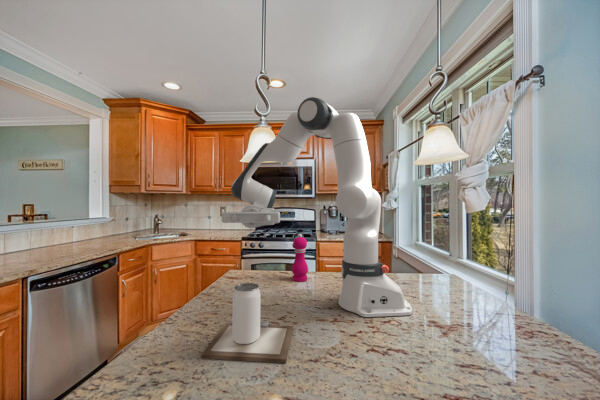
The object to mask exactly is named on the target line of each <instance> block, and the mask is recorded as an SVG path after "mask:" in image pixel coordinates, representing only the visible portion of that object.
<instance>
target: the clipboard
mask: <svg viewBox="0 0 600 400" xmlns="http://www.w3.org/2000/svg"><path fill="white" fill-rule="evenodd" d="M293 332H294V326H293V325H277V324H274V325H273V324H270V321H260V337H259V339H258V340H257V341H256V342H254V343H251V344H247V345H240V344H237V343H235V342H234V341H233V339H232V322H231V323H230V322H226V323H225V324H224V325H223V327H222V328H221V329H220V330H219V332H218V333H217V334H216V335H215V336H214V338H213V339H212V340H211V341H210V343H209V344H208V345H207V346H206V348H205V349H204V350H203V351H202V353H201V355H200V358H201V359H209V360H225V361H227V360H228V361H241V362H242V361H246V362H261V363H278V364H286V363H287V358H288V354H289V351H290V346H291V341H292V336H293Z"/></svg>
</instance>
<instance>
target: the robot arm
mask: <svg viewBox="0 0 600 400" xmlns="http://www.w3.org/2000/svg"><path fill="white" fill-rule="evenodd" d="M312 136H315V137H316V138H319V139H325V140H331V143H332V147H333V153H334V159H335V164H336V171H337V194H336V197H335V205H336V208H337V211H338V212H339V213H340V214H341V215H343V216H344V217H345V218H347V222H346V226H345V231H344V234H343V247H342V248H343V250H342V254H343V259H342V261H341V278H342V284H341V291H340V293H339V294H340V295H339V298H338V302H337V303H338V305H339V306H340V307H341V308H342V309H344V310H346V311H348V312H350V313H355V314H357V315H359V316H360V317H364V318H376V317H380V318H381V317H394V316H395V317H399V316H411V315H412V314H413V308H412V305H411V304H410V303H409V301H407V300H406V299H405V297H404V293H403V290H402V289H401V287H400V286H399V285H398V284H397V283H396V282H395V281H394V280H393V279H391V278H390V277H389V276H387V275H386V273H389V271H390V268H389V266H388V265H386V264H384V263H382V262H381V261H379V233H380V232H379V231H380V226H381V225H380V224H381V223H380V222H381V213H382V212H381V209H382V198H381V195H380V194H379V192H378V191H377V190H376V189H375V188H373V187H372V185H373V184H372V175H371V174H372V173H371V171H372V170H371V166H372V163H371V158H370V154H369V148H368V142H367V138H366V134H365V131H364V128H363V125H362V122H361V121H360V118H359V116H358V115H357V114H355V113H354V112H343V113H340V112H338V111H337V110H336V109H335V108H334V107H333V106H332V105H330V104H329V103H327V102H326V101H324V100H323V99H321V98H319V97H314V96H311V97H307V98H306V99H304V100H303V101H302V102H301V103H300V105H299V106H298V109H297V111H296V112H293V113H290V115H289V116H288V117H287V119H286V120H285V121H284V123H283V125H282V126H281V128H280V130H279V131H278V133H277V135H276V137H275V138H274V139H273V140H272V141H271V142H266V143H264V144H262V145H261V147H259V149H258V150H257V151H256V153H255V154H254V155H253V157H252V158H251V159H250V161H249V162H248V164H247V165H246V167H245V168H244V169H243V171H242V172H241V173H240V174H239V175H238V177H237V178H236V179H235V180H234V181H233V182H232V185H231V188H230V191H231V193H232V195H233V197H234V199H238V200H240V201H243V202H246V203H248V204H249V205H246V206H245V207H243V209H242V210H241V211H222V213H221V222H222V223H225V224H228V223H229V224H238V223H239V224H240V223H241V224H242V225H243V226H244V227H245V228H247V229H255V228H260V227H264V226H273V225H275V224H279V223H281V213H280V211H278V210H276V209H275V208H273V207H274V204H275V201H276V192H275V190H274V189H272V188H270V187H269V186H268V185H265V184H262V183H260V182H259V181H257V180H255V179H253V178H252V176H253V175H254V174H255V172H256V171H257V170H258V168H259V167H260V165H261V164H262V163H264V162H277V163H290V162H293V161H295V160H296V159H297V158H298V156H299V155H300V154H301V152H302V151H303V149H304V147H305V144H306V143H307V141H308V139H309V138H310V137H312Z"/></svg>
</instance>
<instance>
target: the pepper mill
mask: <svg viewBox="0 0 600 400" xmlns="http://www.w3.org/2000/svg"><path fill="white" fill-rule="evenodd" d="M292 245H293V247H294V249H293V250H294V255H295V257H294V258H295V259H294V261H293V264H292V266H291V272H292V274H293V275H292V281H293V282H297V283H304V282H307V280H308V273H309V266H308V264H307V260H306V256H305V254H306V247H307V245H308V242H307V239H306V238H305V237H303V235H302V233H298V235H297V237H296V238H294V240H293V242H292Z"/></svg>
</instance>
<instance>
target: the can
mask: <svg viewBox="0 0 600 400" xmlns="http://www.w3.org/2000/svg"><path fill="white" fill-rule="evenodd" d="M259 288H260V285H259V284H257V283H254V282H253V283H252V282H244V283H240V284H237V285H235V286H234V291H233V293H232V315H231V317H232V321H231V323H232V339H233V341H234V342H235V343H237V344H240V345H247V344H251V343H254V342H256V341H257V340H258V339H259V337H260V322H261V290H260V289H259Z"/></svg>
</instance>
